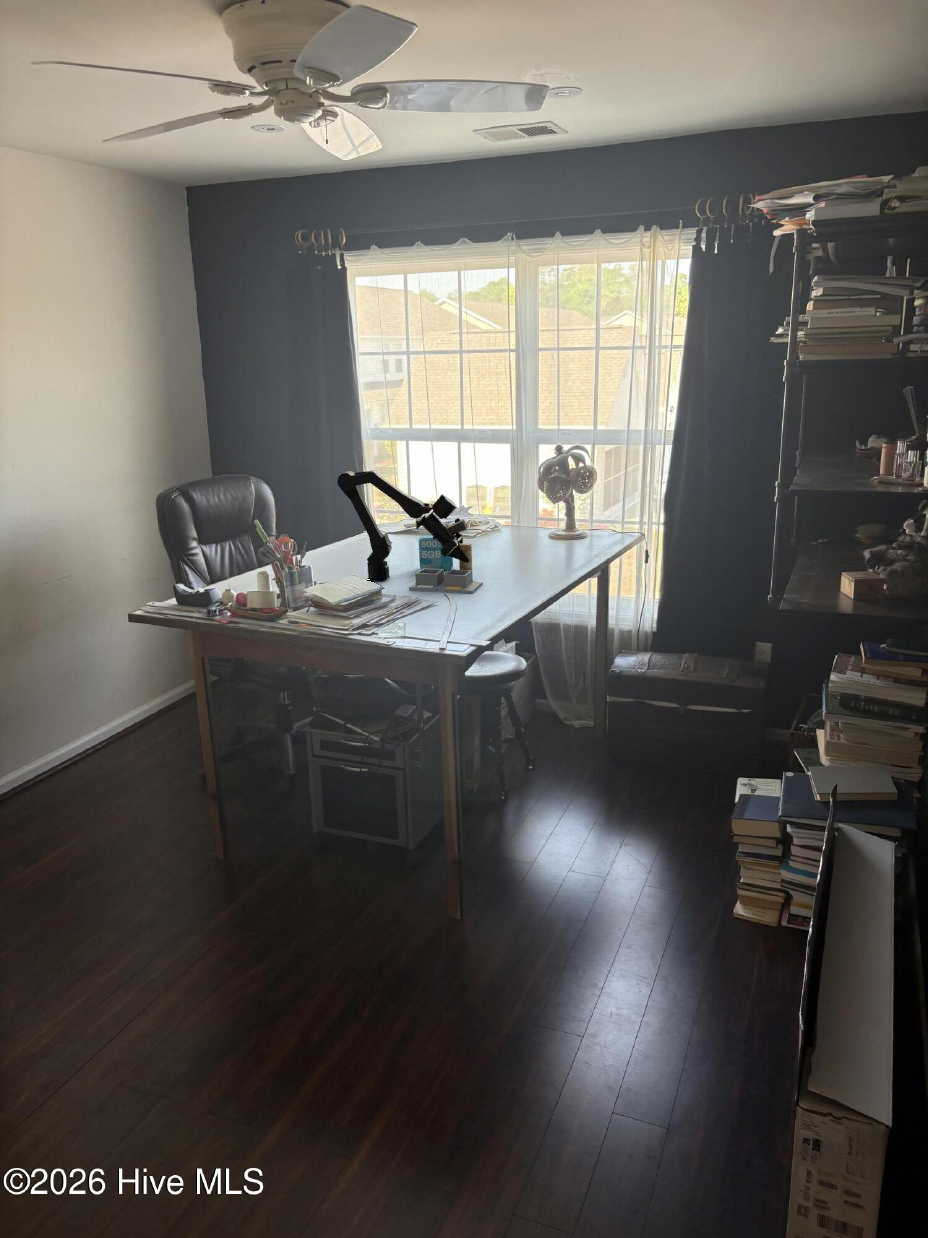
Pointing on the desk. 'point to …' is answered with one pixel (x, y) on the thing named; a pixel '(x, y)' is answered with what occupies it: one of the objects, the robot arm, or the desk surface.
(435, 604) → the desk surface
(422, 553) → the data package
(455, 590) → the socket block
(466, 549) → the walnut peg
